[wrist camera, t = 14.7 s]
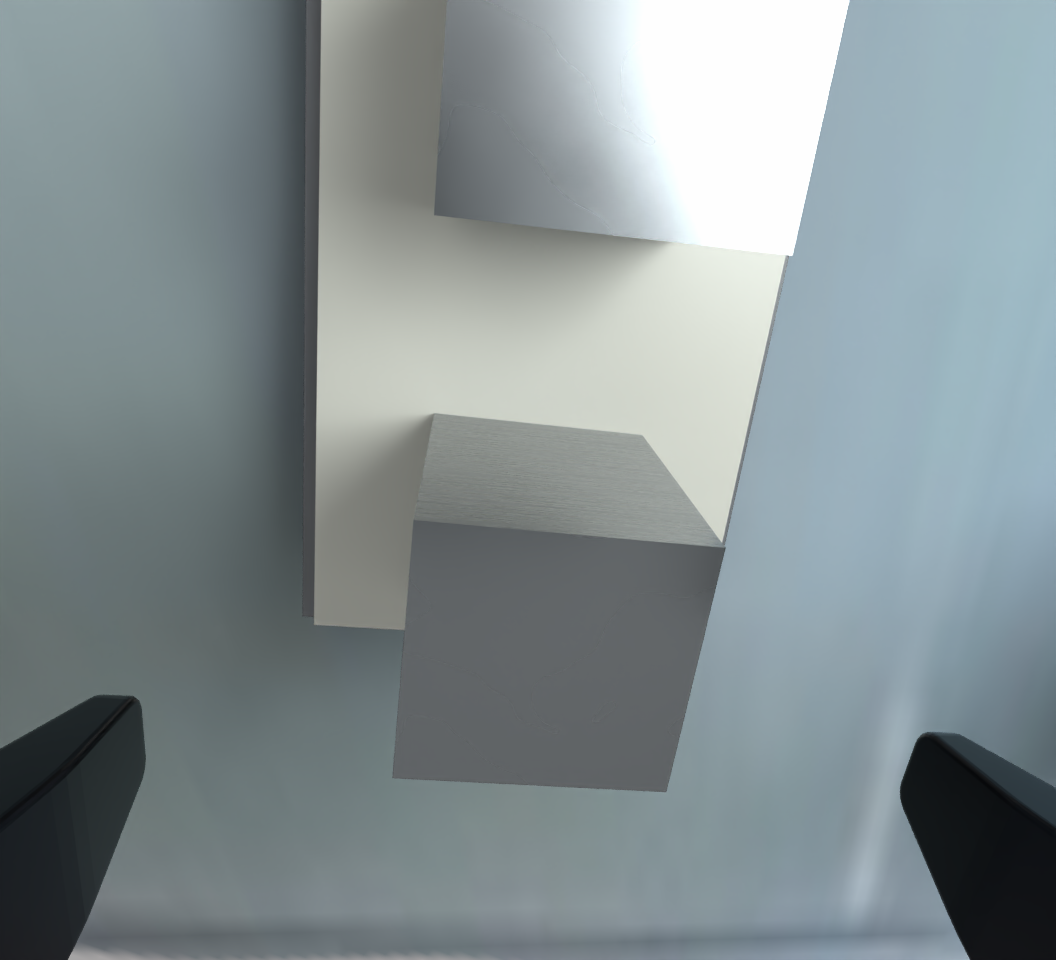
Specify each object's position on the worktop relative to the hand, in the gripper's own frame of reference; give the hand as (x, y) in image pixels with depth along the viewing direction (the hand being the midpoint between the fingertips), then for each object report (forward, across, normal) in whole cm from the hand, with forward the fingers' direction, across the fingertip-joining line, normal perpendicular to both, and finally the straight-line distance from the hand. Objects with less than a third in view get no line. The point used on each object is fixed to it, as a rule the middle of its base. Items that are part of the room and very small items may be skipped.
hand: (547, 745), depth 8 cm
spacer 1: (+7, 0, -8) cm, 10 cm away
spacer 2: (+7, 0, 0) cm, 7 cm away
